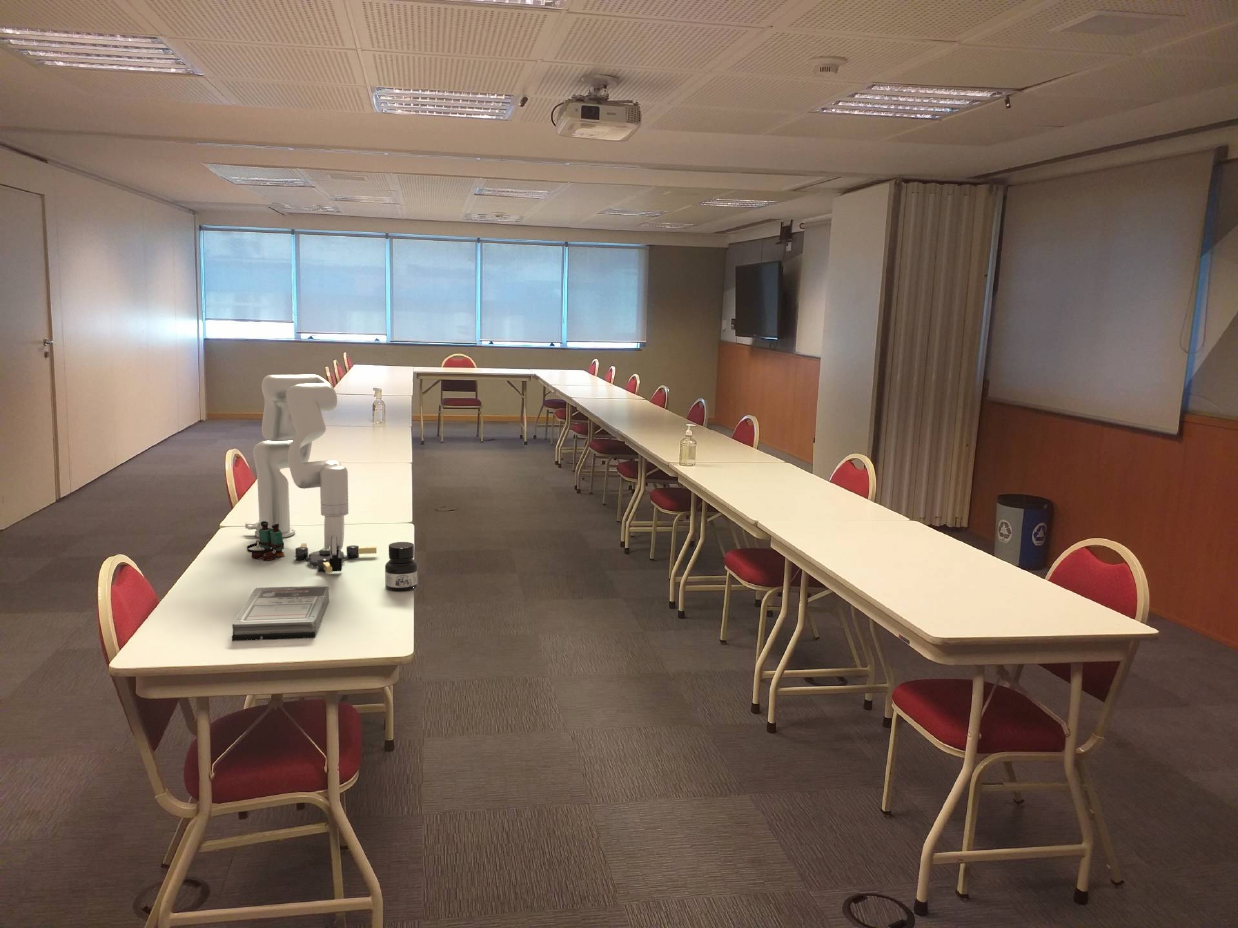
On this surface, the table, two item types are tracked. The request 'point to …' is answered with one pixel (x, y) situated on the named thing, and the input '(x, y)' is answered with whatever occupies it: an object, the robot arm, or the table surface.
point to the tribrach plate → (321, 556)
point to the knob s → (324, 565)
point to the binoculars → (268, 543)
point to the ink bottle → (401, 567)
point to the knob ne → (359, 551)
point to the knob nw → (301, 552)
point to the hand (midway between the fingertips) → (335, 570)
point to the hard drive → (281, 613)
